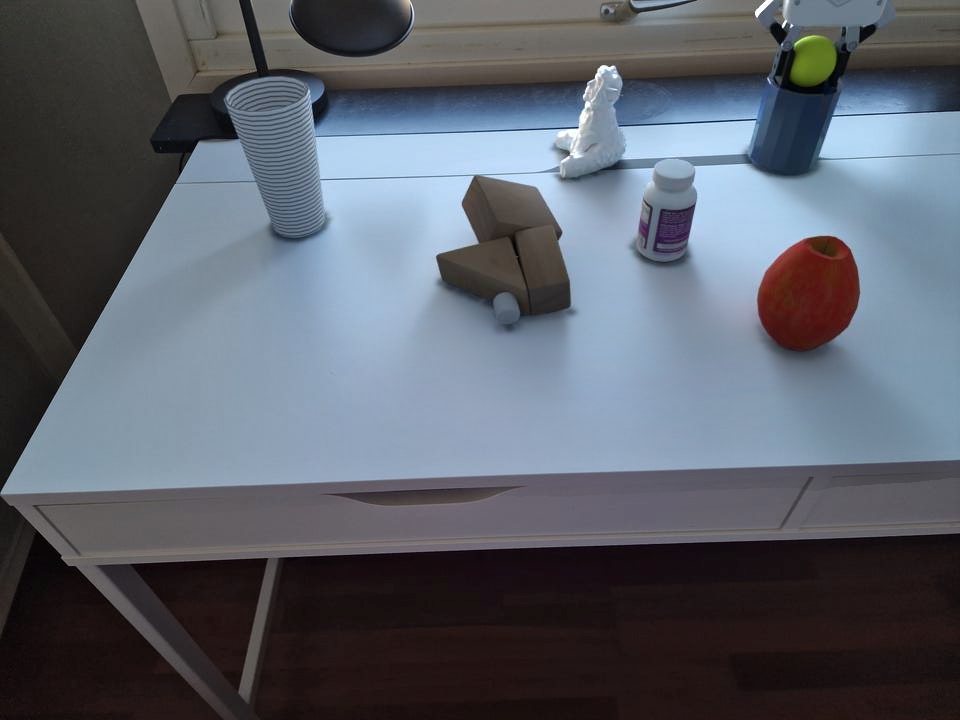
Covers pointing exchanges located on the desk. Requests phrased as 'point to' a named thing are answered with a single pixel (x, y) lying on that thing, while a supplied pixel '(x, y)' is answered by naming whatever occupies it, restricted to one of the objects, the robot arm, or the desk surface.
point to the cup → (280, 150)
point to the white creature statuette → (595, 128)
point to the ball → (813, 61)
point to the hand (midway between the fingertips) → (804, 80)
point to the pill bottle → (667, 211)
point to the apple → (809, 293)
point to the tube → (792, 126)
